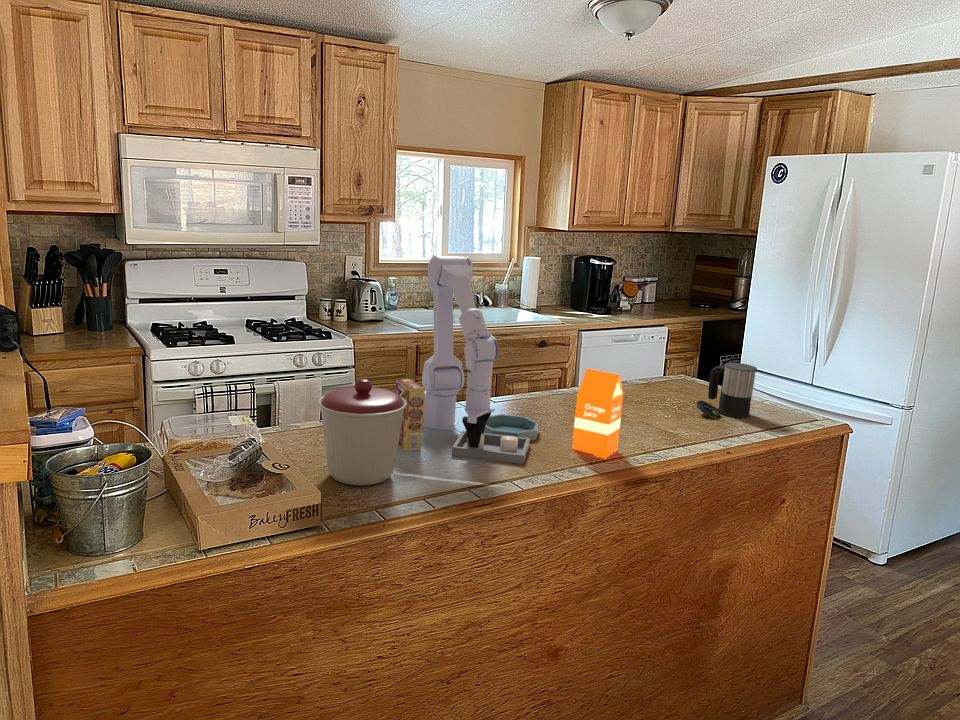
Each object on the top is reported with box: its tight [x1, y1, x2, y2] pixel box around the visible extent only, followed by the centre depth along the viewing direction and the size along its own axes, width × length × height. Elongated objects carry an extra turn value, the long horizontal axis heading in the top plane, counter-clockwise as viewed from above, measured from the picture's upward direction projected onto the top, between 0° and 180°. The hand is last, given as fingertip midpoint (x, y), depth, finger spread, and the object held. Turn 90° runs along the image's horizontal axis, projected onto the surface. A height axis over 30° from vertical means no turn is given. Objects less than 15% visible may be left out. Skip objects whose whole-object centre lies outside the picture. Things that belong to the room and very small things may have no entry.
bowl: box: [484, 413, 540, 442], centre depth 187 cm, size 15×15×3 cm
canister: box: [317, 378, 407, 486], centre depth 152 cm, size 18×18×21 cm
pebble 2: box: [500, 436, 518, 453], centre depth 172 cm, size 4×4×4 cm
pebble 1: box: [467, 433, 484, 449], centre depth 173 cm, size 4×4×4 cm
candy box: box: [395, 378, 426, 451], centre depth 173 cm, size 9×4×15 cm, turn 26°
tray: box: [451, 430, 531, 465], centre depth 173 cm, size 17×13×2 cm
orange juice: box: [571, 368, 624, 460], centre depth 177 cm, size 8×9×20 cm
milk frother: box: [695, 361, 758, 418], centre depth 217 cm, size 14×16×15 cm
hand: (475, 443), depth 174 cm, fingers closed on pebble 1, 4 cm apart
